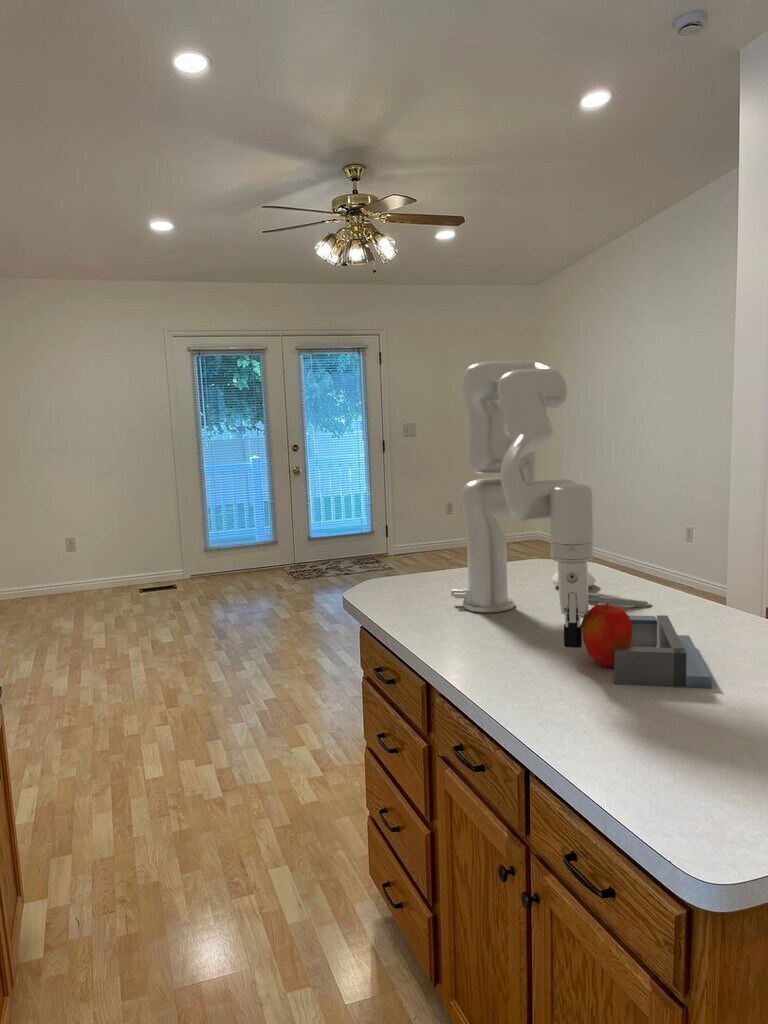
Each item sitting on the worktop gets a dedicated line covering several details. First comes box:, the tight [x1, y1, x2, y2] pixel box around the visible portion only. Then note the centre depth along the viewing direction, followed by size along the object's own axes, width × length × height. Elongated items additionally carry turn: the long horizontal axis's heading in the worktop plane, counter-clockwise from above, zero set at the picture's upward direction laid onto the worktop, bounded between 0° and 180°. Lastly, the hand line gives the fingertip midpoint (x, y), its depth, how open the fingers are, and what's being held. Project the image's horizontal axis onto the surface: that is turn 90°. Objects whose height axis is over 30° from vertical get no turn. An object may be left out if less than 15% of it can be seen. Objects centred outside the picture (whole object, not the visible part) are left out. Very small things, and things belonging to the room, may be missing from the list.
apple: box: [580, 603, 633, 668], centre depth 130 cm, size 9×9×12 cm
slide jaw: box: [628, 615, 657, 647], centre depth 139 cm, size 9×3×6 cm, turn 76°
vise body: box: [613, 614, 713, 689], centre depth 130 cm, size 16×22×6 cm
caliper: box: [588, 592, 653, 608], centre depth 166 cm, size 20×1×6 cm, turn 97°
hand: (573, 645), depth 133 cm, fingers closed
